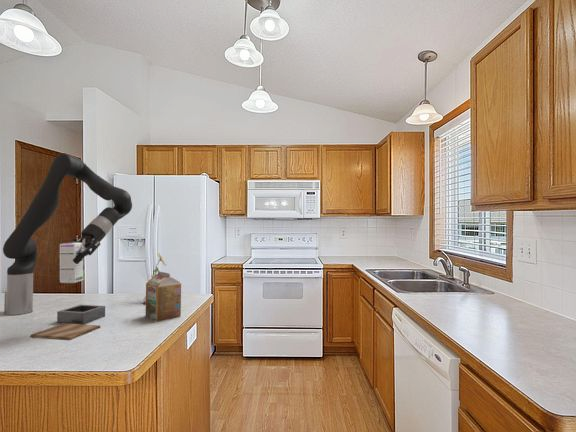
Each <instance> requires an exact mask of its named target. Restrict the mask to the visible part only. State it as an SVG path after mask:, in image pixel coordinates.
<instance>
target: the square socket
mask: <svg viewBox="0 0 576 432" xmlns="http://www.w3.org/2000/svg"><path fill="white" fill-rule="evenodd" d="M56 313H57V314H56V323H57V324H63V323H70V324H85V325H88V324H89V323H92V322H95V321H97V320H100V319H102V318H105V317H106V305H96V304H95V305H94V304H78V305H75V306H72V307H68V308H65V309H60V310H58V311H56ZM94 320H95V321H94Z"/></svg>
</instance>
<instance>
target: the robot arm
mask: <svg viewBox="0 0 576 432" xmlns="http://www.w3.org/2000/svg"><path fill="white" fill-rule="evenodd" d="M66 176H67V177H72V178H75V179H77V180H79V181H81V182H83V183H85V185H87V187H88V188H89V189H90V190H91V191H92V192H93V193H94V194H95V195H97V196H98V197H100V198H101V199H103V200H105V201H112V202H113V207H112V206H111V207H106V208H104V209H102V211H101V212H100V213H98V215H97V216H96V217H95V218H93V219H92V220H91V221H90V222H89V223H88V225H86V226H85V228H83V230H82V231H81V232H80V233H81V234H80V235H81V237H80V238H78V239H76V238H72V239H71V241H70V242H69V243H74V242H81V243H82V245H81V253H79V254H78V255H77V256H76V257H75V258H74V259H73V262H74V263H75V264H78V263H79V262H80V261H81V260H82V259H83V258H84V259H85V257H87V256H92V255H93V254H94V252H95V251H96V250H97V249H98V248H99V247H100V246H101V241H102V240H103V239H104V238H105V237H106V236H107V235H108V234H109V232H110V231H111V229H112V228H113V227H114V226H115V225H116V224H117V222H119V220H121V219H122V218H124V217H125V216H127V215H128V214H130V212H131V211H132V209H133V202H132V197H131V195H130V194H131V193H129V192H128V191H127V190H125V189H123V188H120V187H117V186H114V185H113V184H111V183H110V182H108V181H107V180H105V178H103V177H101V176H100V175H98V174H97V173H96V172H94V171H93V170H92V169H91V168H90V167H89V166H88V165H87V164H86V163H85V162H84V161H83V160H82V159H80V158H79V157H76V156H74V155H71V154H68V153H65V152H64V153H63V152H61V153H59V154H58V155H56V157H55V158H54V159H53V161H52V162H51V164H50V167H49V170H48V172H47V174H46V176H45V179H44V181H43V182H42V184H41V186H40V188H39V190H38V191H37V193H36V194H35V196H34V198H33V199H32V201H31V202H30V204H29V206H28V208H27V210H26V211H25V213H24V214H23V216H22V218H21V220H20V221H19V223H18V224H17V226H16V227H15V228H14V230H13V231H12V233H11V234H10V235H9V236H8V238H7V239H6V240H5V241H4V244H3V247H2V253H3V255H4V256H5V257H6V258H7V259H11V260H12V259H14V261H13V263H12V265H10V266H8V267H7V271H6V291H4V302H3V303H4V305H3V307H4V311H3V314H6V315H8V316H18V315H25V314H28V313H29V314H30V313H31V312H33V309H34V308H33V306H34V305H33V304H34V303H33V301H34V271H35V270H34V269H35V267H36V265H37V255H38V254H37V253H38V245H37V243H36V241H35V239H34V238H32V236H33V235H34V234H35V232H36V231H37V230H38V229H40V228H41V227H42V226H43V225H45V224H46V223H47V222H48V221H49V220H50V219H51V218H52V216H53V215H54V214H55V212H56V211H57V208H58V207H59V204H60V187H61V184H62V182H63V180H64V179H65V177H66ZM58 260H59V261H60V257H59V258H58Z"/></svg>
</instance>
